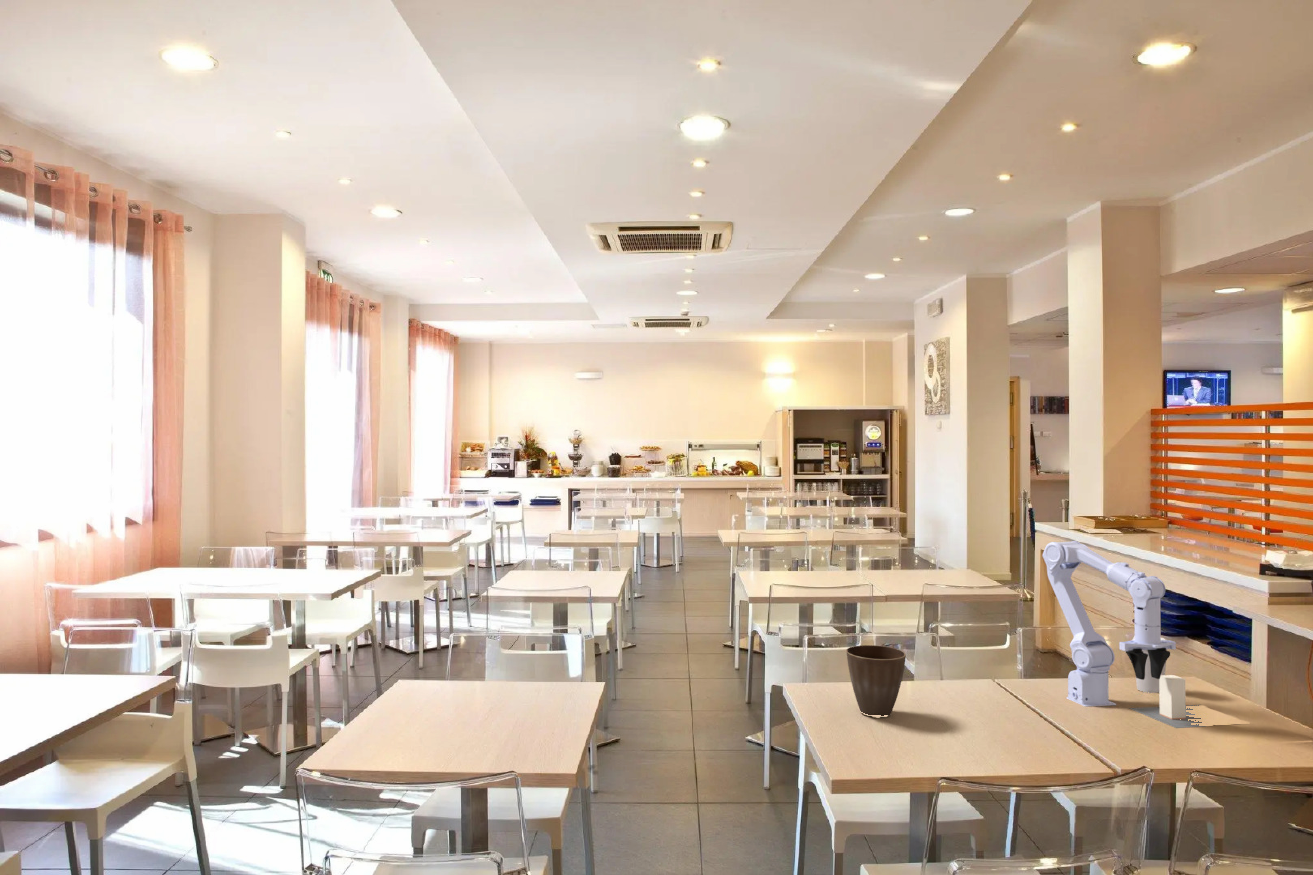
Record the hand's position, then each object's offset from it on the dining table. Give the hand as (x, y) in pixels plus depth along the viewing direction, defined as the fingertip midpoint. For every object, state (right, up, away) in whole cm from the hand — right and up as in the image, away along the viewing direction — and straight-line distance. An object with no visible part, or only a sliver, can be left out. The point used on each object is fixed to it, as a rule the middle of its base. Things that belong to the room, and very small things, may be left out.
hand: (1147, 678), depth 209 cm
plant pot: (-68, -10, +3) cm, 69 cm away
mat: (+12, -11, +2) cm, 16 cm away
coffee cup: (+16, -11, +26) cm, 32 cm away
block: (+7, -10, +1) cm, 12 cm away
